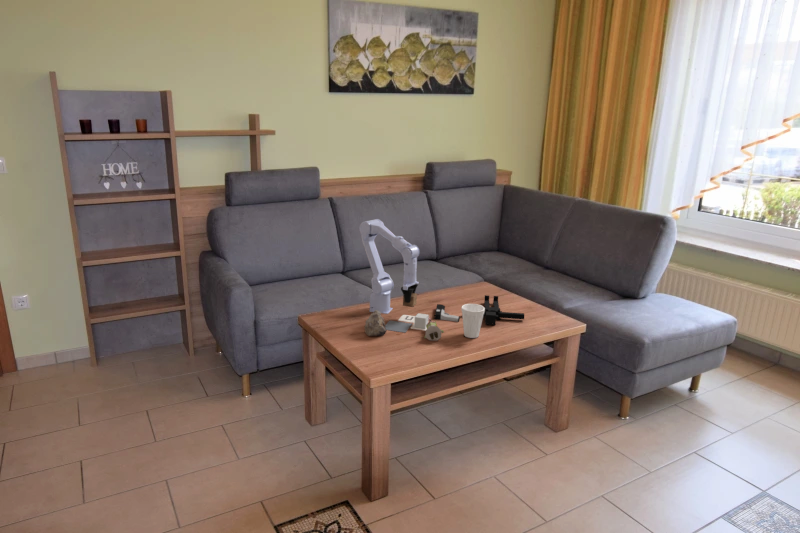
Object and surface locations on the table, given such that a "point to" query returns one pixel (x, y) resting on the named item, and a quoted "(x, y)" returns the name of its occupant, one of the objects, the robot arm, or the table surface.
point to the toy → (497, 312)
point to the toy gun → (444, 314)
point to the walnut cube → (412, 301)
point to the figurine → (433, 331)
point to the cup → (472, 319)
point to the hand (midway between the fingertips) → (409, 300)
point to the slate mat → (398, 326)
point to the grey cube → (421, 321)
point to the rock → (375, 324)
